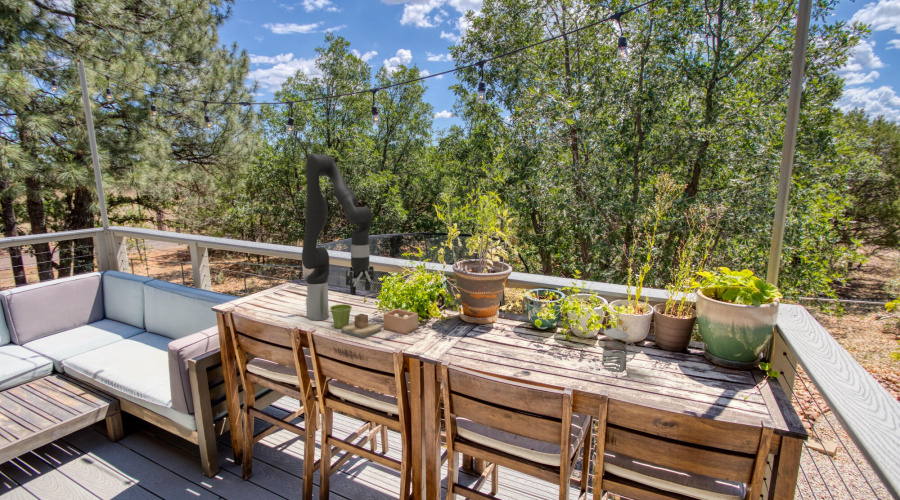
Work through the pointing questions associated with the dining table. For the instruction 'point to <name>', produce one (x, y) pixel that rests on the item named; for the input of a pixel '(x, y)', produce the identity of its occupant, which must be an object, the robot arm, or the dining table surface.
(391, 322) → the box
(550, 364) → the dining table surface
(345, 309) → the plant pot
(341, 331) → the mat
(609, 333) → the french press
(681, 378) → the dining table surface
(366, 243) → the robot arm
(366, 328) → the lid
